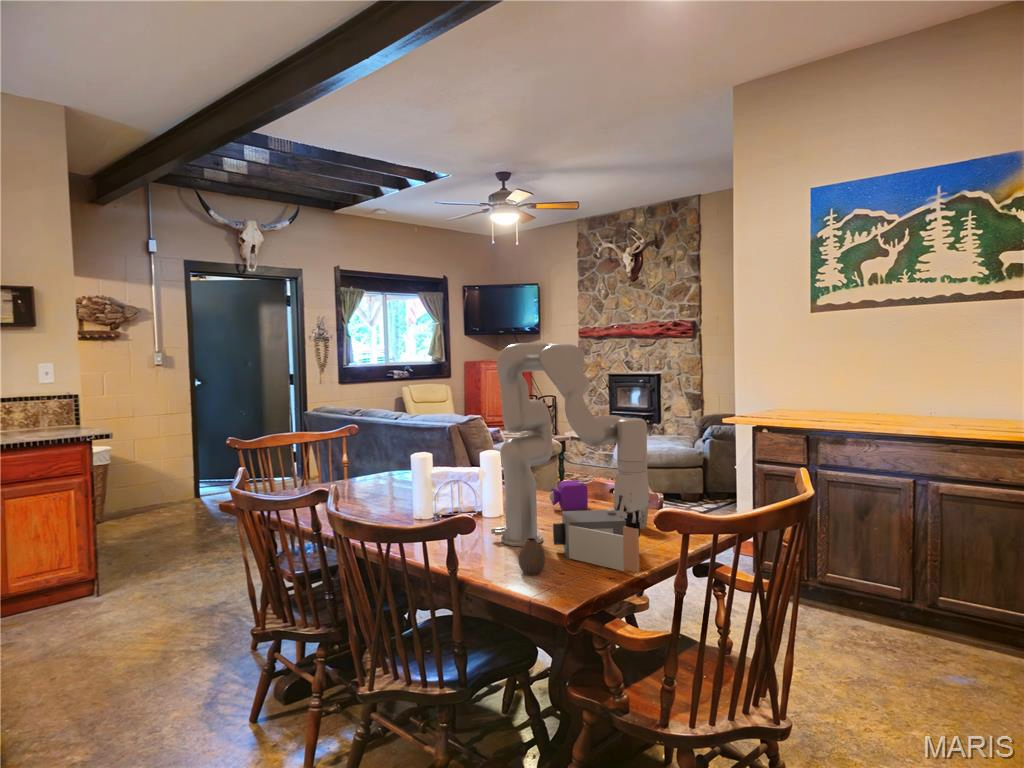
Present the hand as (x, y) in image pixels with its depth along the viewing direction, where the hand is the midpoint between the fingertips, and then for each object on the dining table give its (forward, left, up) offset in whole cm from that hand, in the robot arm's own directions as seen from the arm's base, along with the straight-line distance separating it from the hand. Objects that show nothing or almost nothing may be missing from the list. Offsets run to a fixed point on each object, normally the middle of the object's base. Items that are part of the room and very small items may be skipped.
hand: (632, 536), depth 157 cm
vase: (-26, +1, -9) cm, 28 cm away
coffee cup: (+10, +38, -9) cm, 40 cm away
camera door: (-8, +3, -9) cm, 12 cm away
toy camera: (-10, +64, -9) cm, 65 cm away
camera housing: (-9, +17, -9) cm, 21 cm away
